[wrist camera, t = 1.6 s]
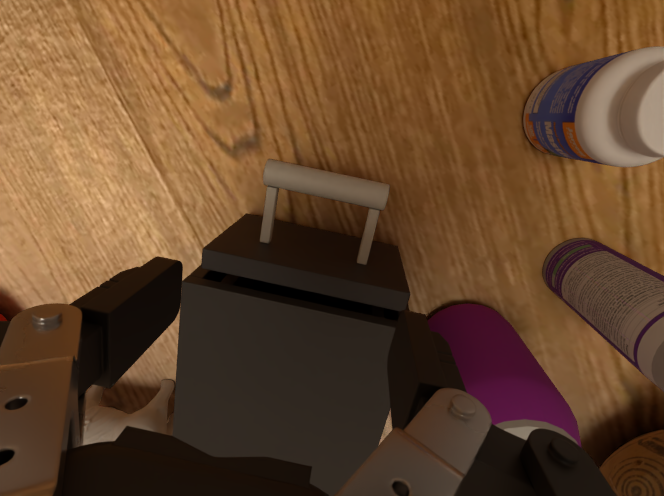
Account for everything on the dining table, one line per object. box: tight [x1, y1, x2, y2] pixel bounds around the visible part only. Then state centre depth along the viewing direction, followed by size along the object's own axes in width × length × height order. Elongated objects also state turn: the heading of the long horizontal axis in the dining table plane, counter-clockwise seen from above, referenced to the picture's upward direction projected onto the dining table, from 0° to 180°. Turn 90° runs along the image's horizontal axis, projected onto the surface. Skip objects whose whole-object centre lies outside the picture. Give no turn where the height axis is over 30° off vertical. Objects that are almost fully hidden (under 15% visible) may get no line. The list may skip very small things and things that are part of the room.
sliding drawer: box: [201, 159, 410, 318], centre depth 25 cm, size 18×11×8 cm, turn 169°
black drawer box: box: [172, 265, 409, 496], centre depth 26 cm, size 15×13×10 cm
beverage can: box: [428, 303, 582, 448], centre depth 24 cm, size 8×8×12 cm
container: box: [543, 238, 664, 392], centre depth 20 cm, size 5×5×15 cm
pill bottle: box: [523, 47, 664, 167], centre depth 19 cm, size 5×5×10 cm
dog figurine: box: [83, 379, 175, 445], centre depth 30 cm, size 5×13×11 cm, turn 92°
